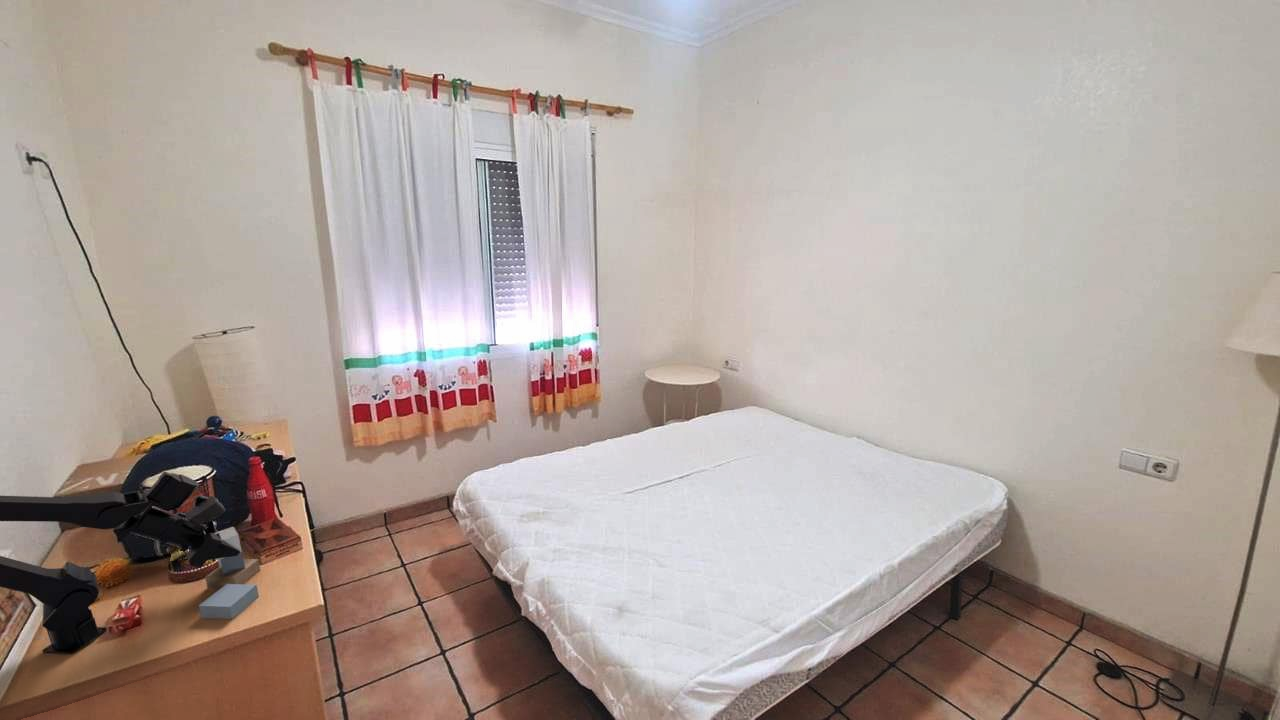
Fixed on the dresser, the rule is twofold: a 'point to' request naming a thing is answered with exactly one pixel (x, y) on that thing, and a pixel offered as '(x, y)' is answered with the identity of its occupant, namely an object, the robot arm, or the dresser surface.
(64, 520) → the robot arm
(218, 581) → the stand
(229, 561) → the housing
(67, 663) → the dresser surface
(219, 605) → the stand
